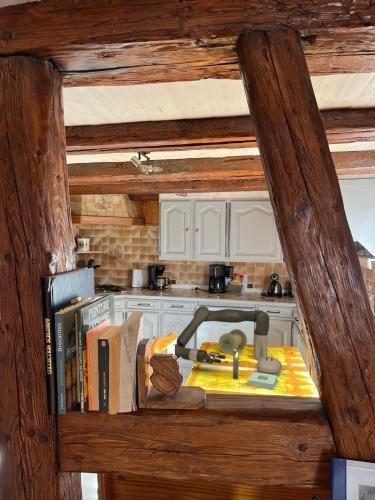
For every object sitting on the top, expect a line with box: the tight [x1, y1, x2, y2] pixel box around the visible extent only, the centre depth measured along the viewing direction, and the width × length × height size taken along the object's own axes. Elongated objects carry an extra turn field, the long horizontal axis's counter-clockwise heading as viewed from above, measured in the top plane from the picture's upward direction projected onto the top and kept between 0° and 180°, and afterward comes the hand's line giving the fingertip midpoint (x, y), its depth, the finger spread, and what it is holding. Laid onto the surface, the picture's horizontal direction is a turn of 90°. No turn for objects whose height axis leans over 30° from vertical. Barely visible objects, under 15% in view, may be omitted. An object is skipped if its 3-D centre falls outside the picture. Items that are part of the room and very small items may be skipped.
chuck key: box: [232, 347, 240, 380], centre depth 198 cm, size 7×3×18 cm, turn 156°
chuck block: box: [247, 371, 278, 391], centre depth 191 cm, size 14×14×3 cm
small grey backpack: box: [256, 356, 283, 377], centre depth 209 cm, size 15×8×20 cm
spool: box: [218, 328, 248, 356], centre depth 249 cm, size 16×15×15 cm
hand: (223, 359), depth 201 cm, fingers open, 8 cm apart
